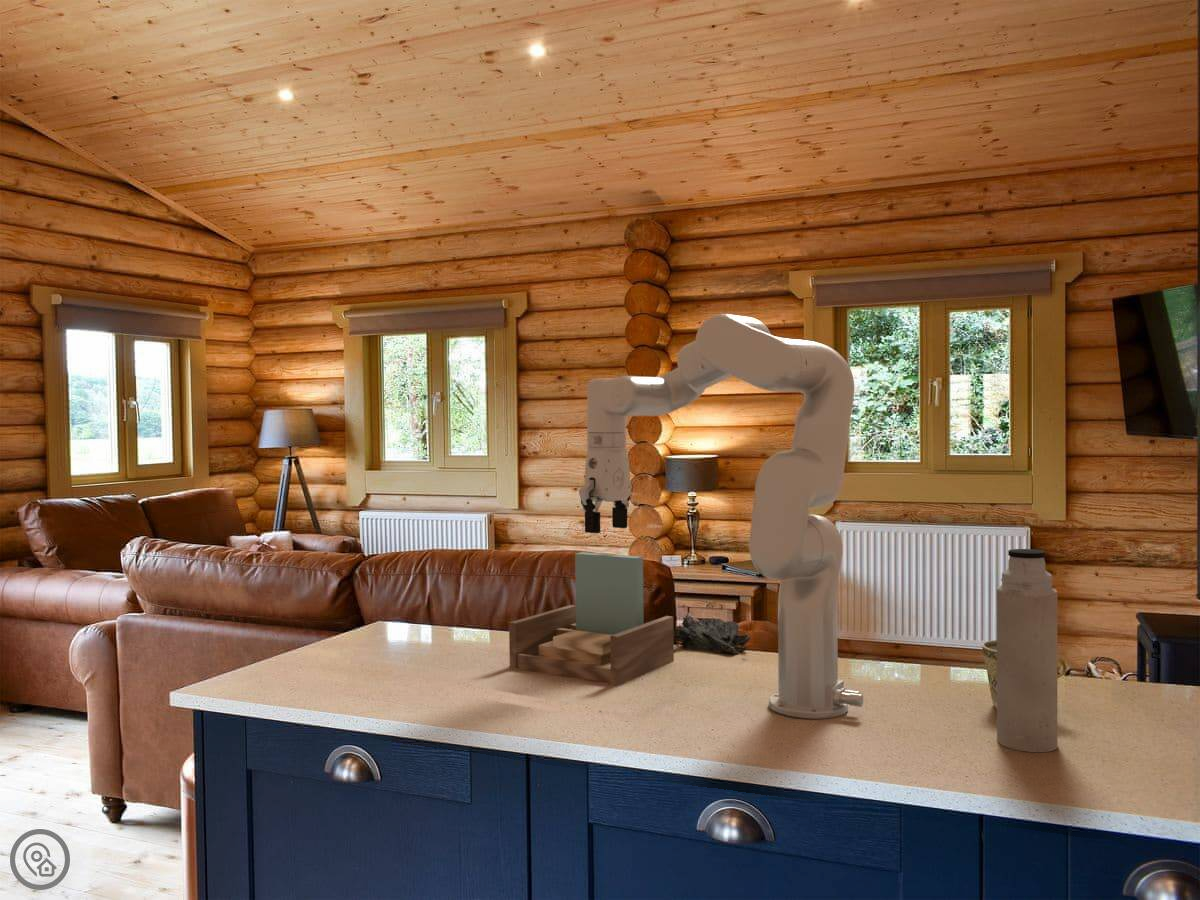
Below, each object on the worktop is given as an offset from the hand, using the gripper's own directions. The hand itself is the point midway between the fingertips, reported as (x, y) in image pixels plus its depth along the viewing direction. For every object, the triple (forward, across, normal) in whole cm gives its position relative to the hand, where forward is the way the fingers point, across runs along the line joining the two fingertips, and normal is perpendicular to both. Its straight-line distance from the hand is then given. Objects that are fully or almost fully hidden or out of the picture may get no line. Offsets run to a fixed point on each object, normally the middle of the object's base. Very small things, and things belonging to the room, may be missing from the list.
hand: (606, 530), depth 184 cm
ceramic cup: (+25, +10, -74) cm, 79 cm away
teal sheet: (+25, 0, -1) cm, 25 cm away
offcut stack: (+25, -9, -1) cm, 26 cm away
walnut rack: (+26, -6, -1) cm, 27 cm away
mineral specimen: (+26, +18, -14) cm, 35 cm away
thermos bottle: (+25, -7, -77) cm, 81 cm away
